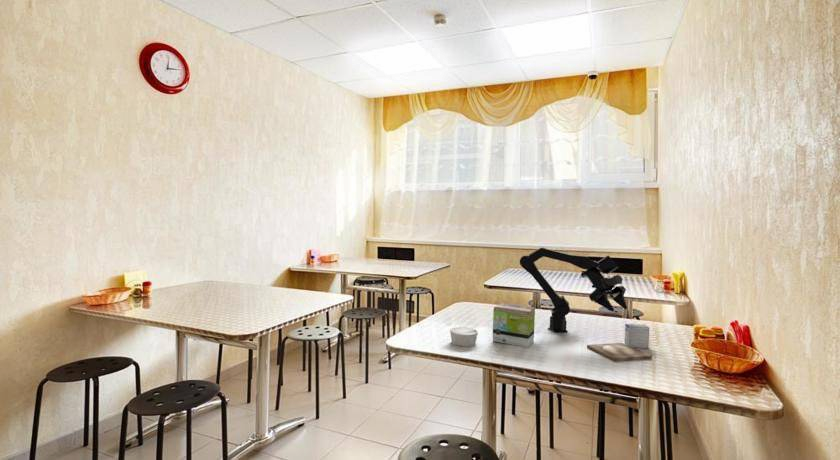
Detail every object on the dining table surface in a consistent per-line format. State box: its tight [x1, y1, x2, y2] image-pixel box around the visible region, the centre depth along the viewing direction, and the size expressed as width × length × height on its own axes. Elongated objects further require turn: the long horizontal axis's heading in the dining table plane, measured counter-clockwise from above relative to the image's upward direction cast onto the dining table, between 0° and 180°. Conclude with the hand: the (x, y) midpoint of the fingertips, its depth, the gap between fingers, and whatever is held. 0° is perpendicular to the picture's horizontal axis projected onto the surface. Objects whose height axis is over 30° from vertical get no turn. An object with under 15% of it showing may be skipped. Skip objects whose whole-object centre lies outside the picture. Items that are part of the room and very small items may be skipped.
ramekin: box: [449, 326, 479, 348], centre depth 172 cm, size 11×11×5 cm
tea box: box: [492, 302, 536, 349], centre depth 175 cm, size 15×10×15 cm, turn 62°
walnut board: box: [586, 342, 653, 362], centre depth 163 cm, size 16×16×1 cm
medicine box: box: [624, 323, 650, 349], centre depth 172 cm, size 8×4×9 cm, turn 84°
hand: (620, 309), depth 178 cm, fingers open, 9 cm apart
